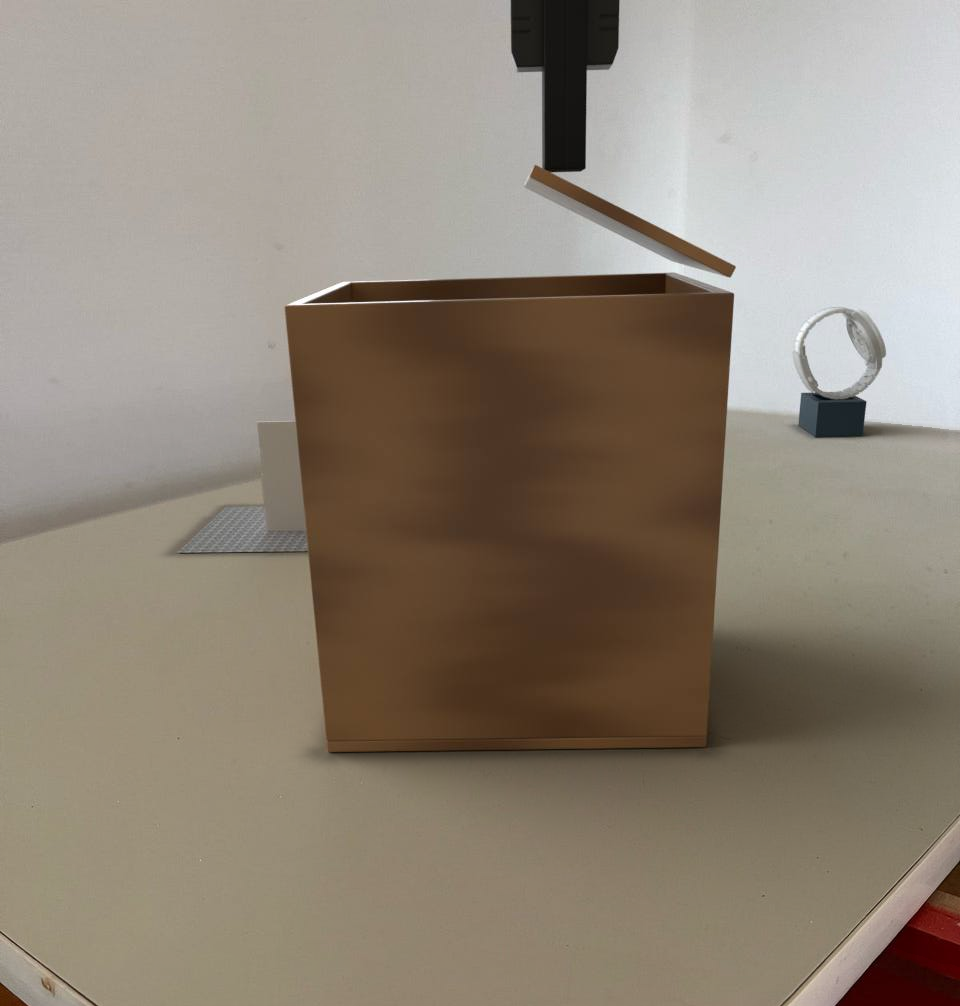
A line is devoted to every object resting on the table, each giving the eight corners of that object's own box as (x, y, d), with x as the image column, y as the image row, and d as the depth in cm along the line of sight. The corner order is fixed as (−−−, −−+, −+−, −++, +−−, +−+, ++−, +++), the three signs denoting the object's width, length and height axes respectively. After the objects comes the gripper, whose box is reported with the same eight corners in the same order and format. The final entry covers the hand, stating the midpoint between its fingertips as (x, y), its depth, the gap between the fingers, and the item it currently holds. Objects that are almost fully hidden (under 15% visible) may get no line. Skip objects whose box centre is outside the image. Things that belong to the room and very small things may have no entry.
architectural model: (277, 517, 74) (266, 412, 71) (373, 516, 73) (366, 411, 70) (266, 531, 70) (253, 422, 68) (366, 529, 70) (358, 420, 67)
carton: (660, 625, 52) (675, 272, 46) (706, 747, 40) (734, 292, 34) (368, 630, 53) (341, 281, 46) (327, 752, 41) (284, 305, 34)
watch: (884, 435, 94) (899, 309, 90) (795, 437, 94) (807, 311, 90) (863, 423, 99) (877, 304, 95) (779, 425, 99) (789, 306, 95)
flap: (672, 261, 46) (676, 252, 46) (730, 278, 34) (736, 266, 34) (523, 186, 45) (527, 177, 45) (528, 176, 33) (534, 164, 33)
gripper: (319, -842, 26) (378, 172, 35) (835, -873, 26) (761, 160, 35) (358, -621, 33) (399, 179, 42) (765, -643, 33) (719, 169, 42)
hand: (563, 170), depth 38 cm, fingers closed
